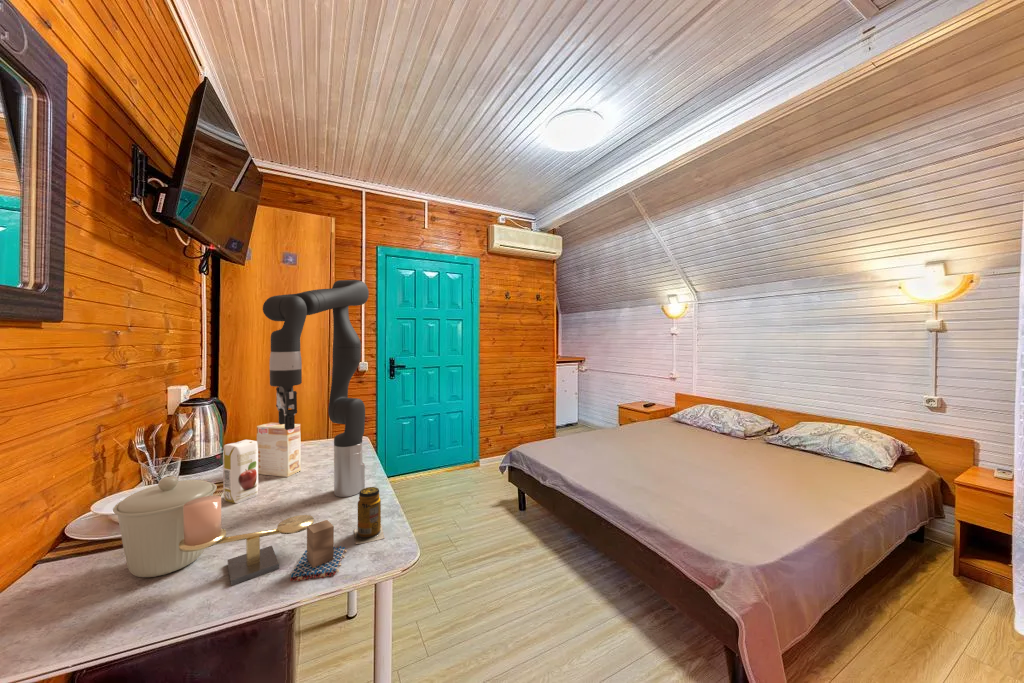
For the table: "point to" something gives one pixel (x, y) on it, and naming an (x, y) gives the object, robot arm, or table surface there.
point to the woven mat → (307, 570)
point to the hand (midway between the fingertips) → (286, 426)
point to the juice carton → (240, 471)
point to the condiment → (369, 516)
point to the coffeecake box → (278, 450)
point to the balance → (254, 549)
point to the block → (320, 543)
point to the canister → (158, 525)
